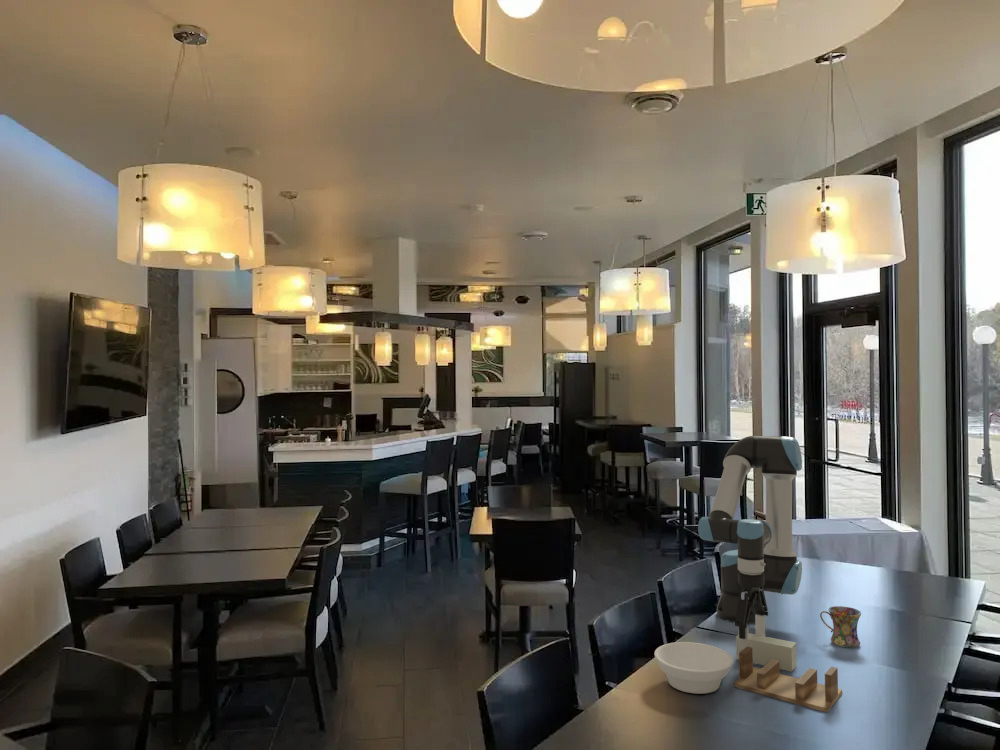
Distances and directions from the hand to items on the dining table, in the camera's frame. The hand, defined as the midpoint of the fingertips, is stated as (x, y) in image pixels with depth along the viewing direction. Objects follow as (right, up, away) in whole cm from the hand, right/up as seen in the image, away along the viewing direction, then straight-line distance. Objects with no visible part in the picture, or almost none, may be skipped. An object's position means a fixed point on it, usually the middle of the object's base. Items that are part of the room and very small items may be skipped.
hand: (752, 642), depth 207 cm
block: (+3, -5, -3) cm, 7 cm away
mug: (+33, -5, +12) cm, 35 cm away
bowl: (-23, -5, -17) cm, 29 cm away
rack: (+2, -5, -21) cm, 22 cm away
